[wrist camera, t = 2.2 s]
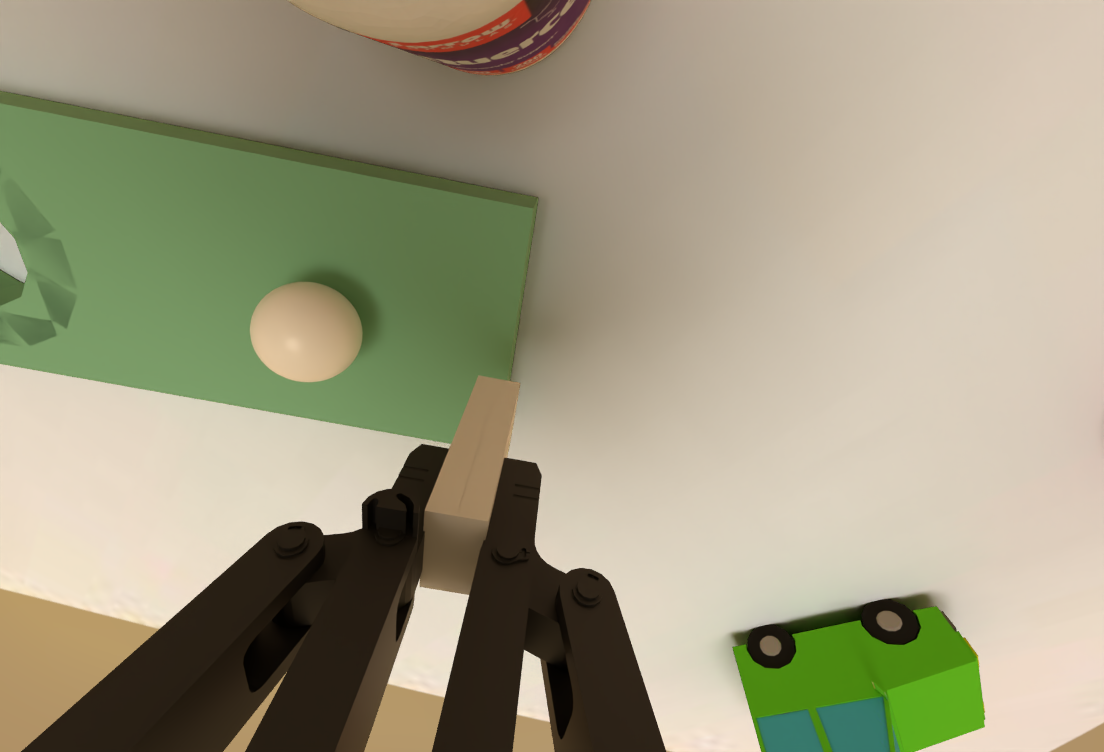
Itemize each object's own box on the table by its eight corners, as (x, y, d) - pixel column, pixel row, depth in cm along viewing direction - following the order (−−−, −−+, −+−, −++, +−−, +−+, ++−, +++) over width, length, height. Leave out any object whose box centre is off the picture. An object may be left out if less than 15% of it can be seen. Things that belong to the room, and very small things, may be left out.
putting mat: (-193, 52, 19) (-292, 45, 17) (538, 197, 20) (533, 208, 18) (-58, 322, 25) (-119, 342, 23) (503, 423, 26) (496, 451, 24)
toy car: (944, 662, 35) (1065, 848, 26) (760, 695, 38) (813, 870, 29) (929, 575, 30) (1068, 763, 22) (723, 622, 34) (772, 800, 25)
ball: (280, 260, 20) (216, 293, 16) (377, 278, 20) (333, 314, 16) (290, 345, 22) (234, 391, 18) (377, 361, 22) (338, 409, 18)
